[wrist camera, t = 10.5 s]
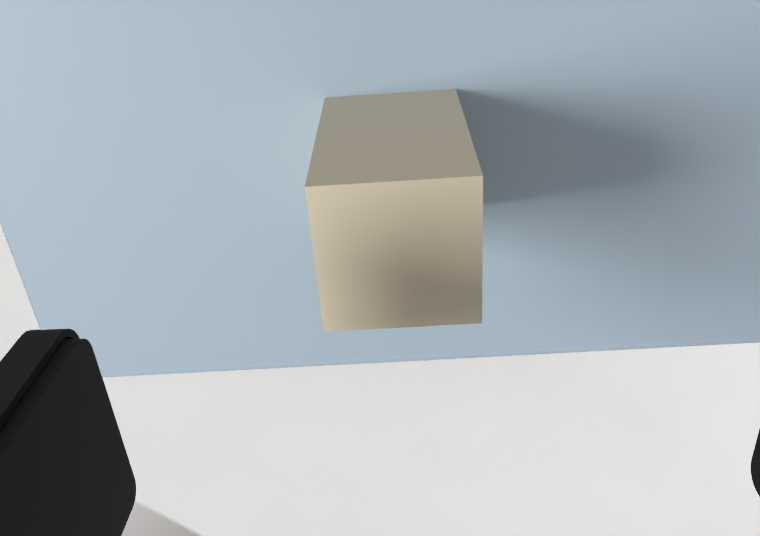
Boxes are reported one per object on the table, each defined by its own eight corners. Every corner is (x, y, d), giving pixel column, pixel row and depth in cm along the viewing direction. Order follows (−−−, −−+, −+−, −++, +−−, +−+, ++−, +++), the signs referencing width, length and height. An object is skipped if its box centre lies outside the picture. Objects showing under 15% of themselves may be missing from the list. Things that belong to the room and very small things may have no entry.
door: (879, -291, 14) (1216, -385, 8) (741, 311, 21) (872, 479, 15) (-117, -208, 15) (-426, -244, 9) (78, 348, 22) (-27, 520, 16)
